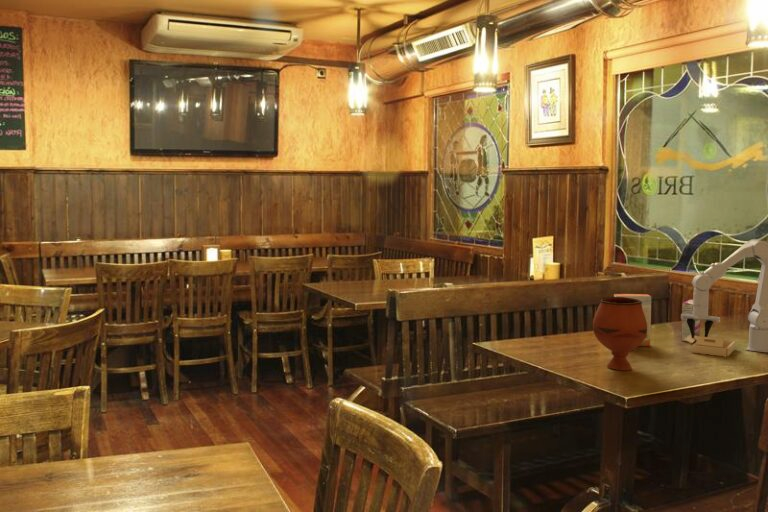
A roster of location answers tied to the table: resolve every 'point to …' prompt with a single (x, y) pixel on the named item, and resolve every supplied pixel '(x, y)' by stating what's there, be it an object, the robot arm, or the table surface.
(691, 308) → the candy bar box
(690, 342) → the flap
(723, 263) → the robot arm
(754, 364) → the table surface
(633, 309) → the goblet
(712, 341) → the flap
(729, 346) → the carton
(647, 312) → the cracker box
